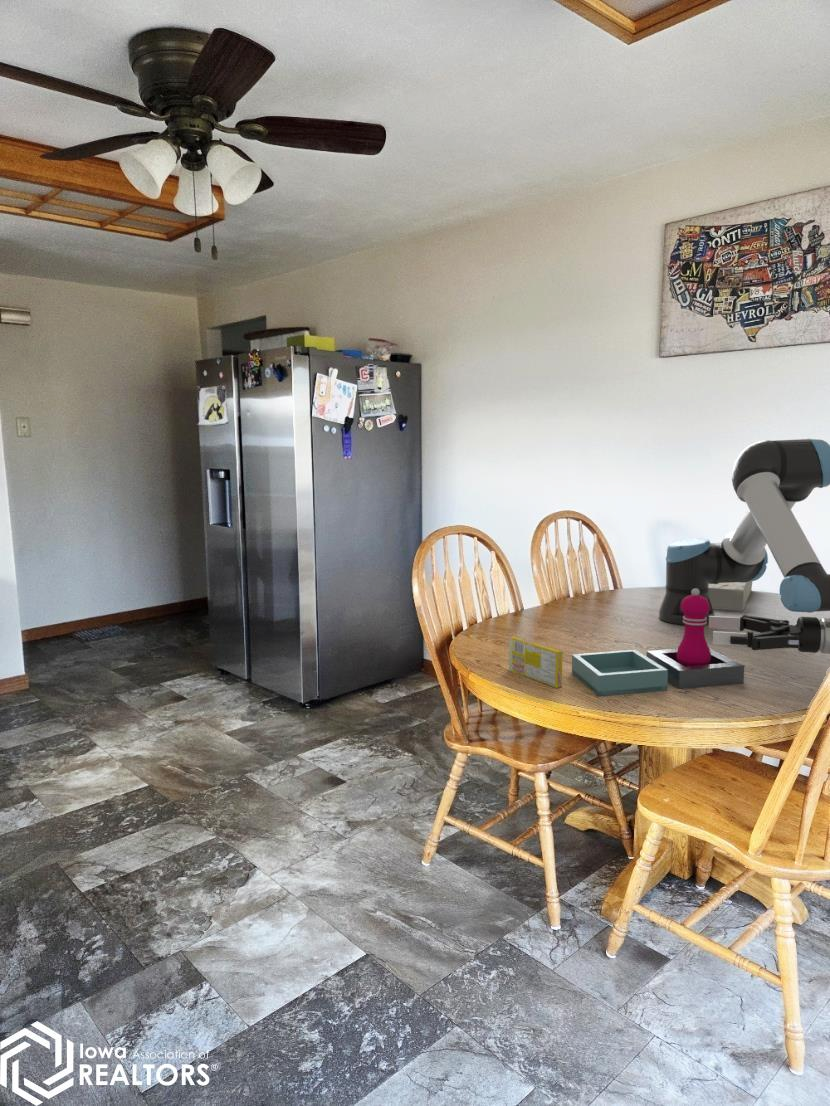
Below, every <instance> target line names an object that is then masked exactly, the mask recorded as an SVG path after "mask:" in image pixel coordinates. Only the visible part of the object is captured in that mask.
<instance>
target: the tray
mask: <svg viewBox="0 0 830 1106" xmlns="http://www.w3.org/2000/svg"><path fill="white" fill-rule="evenodd" d="M571 674H572V675H573V676H575V677H576V678H577V679H578V680H579V681H580V682H581V683H583V684H584V685H585V686H586V687H587V688H588V689H590V690H591V691H592V692H593V693H594V694H596V696H598V697H605V696H606V697H607V696H616V695H617V696H619V695H627V694H628V695H629V694H639V693H651V692H653V693H654V692H662V691H663V692H664V691H668V670H667V669H665V668H664V667H662V666H661V665H659V664H657V663H656V662H654V661H653V660H651V659H649V658H648V657H647V655H644V654H643V653H641V652H640V651H638V650H637V649H625V650H611V651H600V652H586V653H574V654H571Z"/></svg>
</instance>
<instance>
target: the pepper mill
mask: <svg viewBox="0 0 830 1106" xmlns="http://www.w3.org/2000/svg"><path fill="white" fill-rule="evenodd" d="M691 594H692V595H689V596H687V597H685V598H684V599H683V600H682V602H681V611H682V612H683V613H684V616H683V623H685V625H684V632H683V637H682V639H681V641H680V643H679V646H678V648H677V649H678V650H677V660H678V661H679V662H680V663H681V665H683V666H696V665H708V664H709V662H710V661H711V653H710V649H709V648H710V647H709V645H708V643H707V640H706V636H705V626H706V625H707V624H706V623H707V622H706V620H707V618H706V617H705V616H706V614H708V612H709V609H710V606H709V602H708V600H707V599H706V598H704V597H703V596H700V595H699V594H700V591H699V589H697V588H694V589H693V590H692V591H691Z"/></svg>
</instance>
